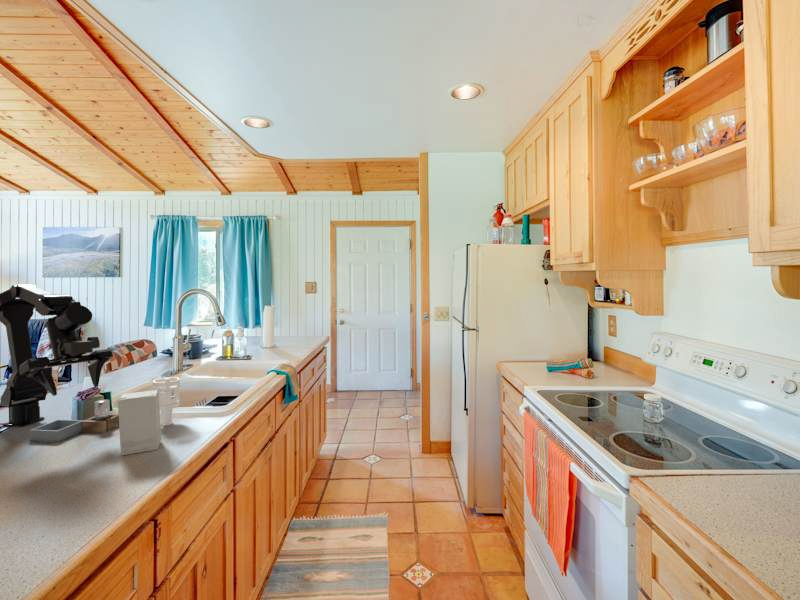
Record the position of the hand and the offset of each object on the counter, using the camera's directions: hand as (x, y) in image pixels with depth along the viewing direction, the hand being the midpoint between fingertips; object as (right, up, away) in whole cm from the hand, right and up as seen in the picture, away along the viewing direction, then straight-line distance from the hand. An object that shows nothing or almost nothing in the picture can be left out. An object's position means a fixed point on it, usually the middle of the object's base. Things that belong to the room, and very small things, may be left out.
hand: (76, 390), depth 98 cm
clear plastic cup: (+15, -14, +14) cm, 25 cm away
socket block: (-2, -14, +10) cm, 17 cm away
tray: (-9, -14, +4) cm, 17 cm away
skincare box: (+20, -15, -3) cm, 25 cm away
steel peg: (-2, -14, +10) cm, 17 cm away
